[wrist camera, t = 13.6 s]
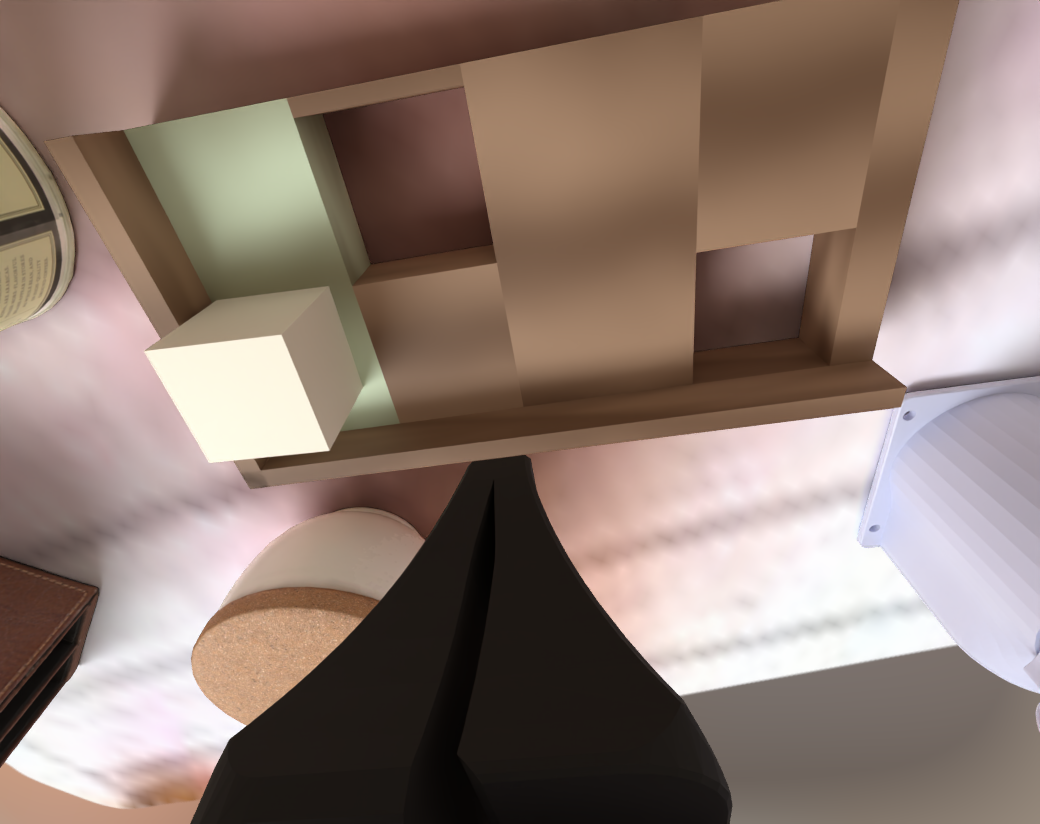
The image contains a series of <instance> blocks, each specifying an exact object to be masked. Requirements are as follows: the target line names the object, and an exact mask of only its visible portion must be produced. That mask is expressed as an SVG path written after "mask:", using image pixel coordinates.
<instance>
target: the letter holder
mask: <svg viewBox="0 0 1040 824" xmlns="http://www.w3.org/2000/svg"><path fill="white" fill-rule="evenodd" d="M98 594H99V593H98V588H97V587H95V586H90V585H87V584H83V583H80V582H77V581H74V580H71V579H68V578H65V577H62V576H59V575H55V574H52V573H49V572H46V571H43V570H40V569H37V568H34V567H31V566H28V565H25V564H22V563H19V562H16V561H13V560H10V559H7V558H4V557H1V556H0V767H1V766H2V765H3V764H4V762H5V761H6V760H7V758H8V757H9V756H10V754H11V753H12V752H13V750H14V749H15V748H16V747H17V745H18V744H19V743H20V741H21V740H22V739H23V737H24V736H25V735H26V734H27V732H28V731H29V730H30V728H31V727H32V726H33V724H34V723H35V722H36V721H37V719H38V718H39V717H40V716H41V714H42V713H43V712H44V710H45V709H46V708H47V706H48V705H49V704H50V702H51V701H52V700H53V698H54V697H55V696H56V695H57V693H58V692H59V691H60V690H61V688H62V687H63V686H64V684H65V683H66V682H67V681H68V680H69V679H70V678H71V677H72V675H73V674H74V672H75V670H76V669H77V667H78V663H79V659H80V655H81V652H82V649H83V645H84V642H85V639H86V636H87V632H88V629H89V626H90V623H91V619H92V616H93V613H94V610H95V606H96V603H97V599H98Z"/></svg>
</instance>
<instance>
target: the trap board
mask: <svg viewBox="0 0 1040 824" xmlns="http://www.w3.org/2000/svg"><path fill="white" fill-rule="evenodd" d="M958 4H959V0H780V1H775V2H770V3H765V4H759V5H754V6H749V7H744V8H739V9H734V10H729V11H724V12H719V13H714V14H709V15H704V16H699V17H694V18H689V19H684V20H678V21H673V22H668V23H663V24H658V25H653V26H648V27H643V28H638V29H633V30H628V31H623V32H618V33H613V34H608V35H603V36H598V37H592V38H587V39H582V40H577V41H572V42H567V43H562V44H557V45H552V46H547V47H542V48H537V49H532V50H527V51H522V52H517V53H511V54H506V55H501V56H496V57H491V58H486V59H481V60H476V61H471V62H466V63H461V64H456V65H451V66H446V67H441V68H436V69H431V70H425V71H420V72H415V73H410V74H405V75H400V76H395V77H390V78H385V79H380V80H375V81H370V82H365V83H360V84H355V85H350V86H344V87H339V88H334V89H329V90H324V91H319V92H314V93H309V94H304V95H299V96H294V97H289V98H284V99H279V100H274V101H269V102H264V103H258V104H253V105H248V106H243V107H238V108H233V109H228V110H223V111H218V112H213V113H208V114H203V115H198V116H193V117H188V118H183V119H177V120H172V121H167V122H162V123H157V124H152V125H147V126H142V127H137V128H132V129H127V130H121V131H111V132H102V133H93V134H84V135H75V136H68V137H63V138H58V139H53V140H48V141H44V143H45V145H46V146H47V148H48V150H49V152H50V153H51V155H52V157H53V158H54V160H55V162H56V163H57V165H58V167H59V168H60V170H61V172H62V173H63V175H64V177H65V178H66V180H67V182H68V184H69V185H70V187H71V189H72V190H73V192H74V194H75V195H76V197H77V199H78V200H79V202H80V204H81V205H82V207H83V209H84V210H85V212H86V214H87V215H88V217H89V219H90V221H91V222H92V224H93V226H94V227H95V229H96V231H97V232H98V234H99V236H100V237H101V239H102V241H103V242H104V244H105V246H106V247H107V249H108V251H109V252H110V254H111V256H112V258H113V259H114V261H115V263H116V264H117V266H118V268H119V269H120V271H121V273H122V274H123V276H124V278H125V279H126V281H127V283H128V284H129V286H130V288H131V289H132V291H133V293H134V295H135V296H136V298H137V300H138V301H139V303H140V305H141V306H142V308H143V310H144V311H145V313H146V315H147V316H148V318H149V320H150V321H151V323H152V325H153V326H154V328H155V330H156V332H157V333H158V335H159V337H160V338H161V339H162V338H163V337H165V336H166V335H168V334H169V333H171V332H172V331H173V330H175V329H176V328H178V327H179V326H181V325H182V324H183V323H185V322H186V321H188V320H189V319H191V318H192V317H193V316H195V315H196V314H198V313H199V312H201V311H202V310H203V309H205V308H206V307H208V306H209V305H211V304H212V303H213V302H215V301H216V300H222V299H230V298H238V297H246V296H254V295H261V294H269V293H277V292H285V291H293V290H301V289H309V288H317V287H325V286H329V289H330V292H331V294H332V297H333V300H334V303H335V306H336V309H337V312H338V315H339V318H340V321H341V324H342V327H343V330H344V333H345V336H346V338H347V341H348V344H349V347H350V350H351V353H352V356H353V359H354V362H355V365H356V368H357V371H358V374H359V377H360V380H361V383H362V385H363V389H362V390H361V392H360V394H359V396H358V398H357V400H356V402H355V404H354V406H353V407H352V409H351V411H350V413H349V415H348V417H347V419H346V421H345V423H344V424H343V426H342V428H341V430H340V432H339V434H338V436H337V438H336V440H335V442H334V443H333V445H332V447H331V449H330V451H323V452H313V453H303V454H293V455H283V456H274V457H264V458H254V459H244V460H234V463H235V464H236V466H237V468H238V469H239V471H240V473H241V475H242V476H243V478H244V480H245V481H246V483H247V485H248V486H249V488H250V489H255V488H263V487H271V486H279V485H286V484H294V483H302V482H310V481H318V480H326V479H334V478H342V477H350V476H358V475H366V474H374V473H382V472H390V471H398V470H406V469H414V468H422V467H430V466H438V465H446V464H454V463H462V462H469V461H477V460H485V459H493V458H501V457H509V456H517V455H525V454H533V453H541V452H549V451H557V450H565V449H573V448H581V447H589V446H597V445H605V444H613V443H621V442H629V441H637V440H644V439H652V438H660V437H668V436H676V435H684V434H692V433H700V432H708V431H716V430H724V429H732V428H740V427H748V426H756V425H764V424H772V423H780V422H788V421H796V420H804V419H812V418H819V417H827V416H835V415H843V414H851V413H859V412H867V411H875V410H883V409H891V408H899V407H901V406H902V402H903V399H904V396H905V392H906V389H907V387H906V386H905V385H903V384H902V383H901V382H899V381H898V380H897V379H896V378H894V377H893V376H892V375H891V374H889V373H888V372H887V371H885V370H884V369H883V368H882V367H880V366H879V365H878V364H876V363H875V362H874V361H873V360H872V358H873V354H874V350H875V346H876V342H877V338H878V334H879V330H880V325H881V321H882V317H883V313H884V309H885V305H886V301H887V297H888V292H889V288H890V284H891V280H892V276H893V272H894V268H895V264H896V259H897V255H898V251H899V247H900V243H901V239H902V235H903V231H904V226H905V222H906V218H907V214H908V210H909V206H910V202H911V198H912V193H913V189H914V185H915V181H916V177H917V173H918V169H919V165H920V160H921V156H922V152H923V148H924V144H925V140H926V136H927V131H928V127H929V123H930V119H931V115H932V111H933V107H934V103H935V98H936V94H937V90H938V86H939V82H940V78H941V74H942V70H943V65H944V61H945V57H946V53H947V49H948V45H949V41H950V37H951V32H952V28H953V24H954V20H955V16H956V12H957V8H958ZM461 87H464V89H465V94H466V99H467V105H468V110H469V116H470V121H471V126H472V132H473V137H474V143H475V148H476V153H477V159H478V164H479V170H480V175H481V180H482V186H483V191H484V196H485V202H486V207H487V213H488V218H489V223H490V229H491V234H492V240H493V244H492V245H486V246H480V247H474V248H468V249H462V250H456V251H450V252H444V253H438V254H431V255H425V256H419V257H413V258H407V259H401V260H395V261H389V262H383V263H377V264H370V261H369V258H368V255H367V251H366V248H365V245H364V242H363V239H362V236H361V233H360V230H359V227H358V223H357V220H356V217H355V214H354V211H353V208H352V205H351V202H350V199H349V195H348V192H347V189H346V186H345V183H344V180H343V177H342V174H341V171H340V167H339V164H338V161H337V158H336V155H335V152H334V149H333V146H332V143H331V139H330V136H329V133H328V130H327V127H326V124H325V121H324V118H323V115H322V114H326V113H332V112H337V111H342V110H347V109H352V108H357V107H363V106H368V105H373V104H378V103H383V102H389V101H394V100H399V99H404V98H409V97H414V96H420V95H425V94H430V93H435V92H440V91H445V90H451V89H456V88H461ZM813 234H814V239H813V245H812V252H811V259H810V265H809V272H808V279H807V285H806V292H805V299H804V305H803V312H802V319H801V325H800V332H799V338H793V339H785V340H778V341H771V342H764V343H757V344H750V345H742V346H735V347H728V348H721V349H714V350H707V351H700V352H693V351H694V316H695V280H696V253H698V252H704V251H711V250H717V249H723V248H730V247H736V246H743V245H749V244H755V243H762V242H768V241H774V240H781V239H787V238H794V237H800V236H806V235H813Z"/></svg>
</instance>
